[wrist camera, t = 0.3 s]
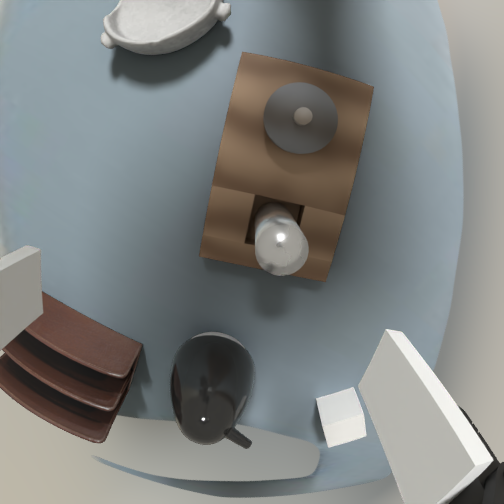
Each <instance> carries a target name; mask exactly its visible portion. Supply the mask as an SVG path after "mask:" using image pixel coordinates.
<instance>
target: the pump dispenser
mask: <svg viewBox="0 0 504 504" xmlns="http://www.w3.org/2000/svg"><path fill="white" fill-rule="evenodd" d="M254 377H255V367H254V362H253V360H252V357H251V356H250V354H249V353H248V352H247V350H246V349H245V347H244V346H243V345H242V344H241V343H240V342H239V341H238V340H236V339H235V338H233V337H231V336H229V335H227V334H224V333H220V332H206V333H202V334H199V335H196V336H194V337H192V338H191V339H190V340H188V341H186V342H185V343H183V344H182V345H181V346H180V347H179V348H178V350H177V352H176V354H175V356H174V359H173V362H172V367H171V374H170V398H171V405H172V410H173V414H174V417H175V420H176V423H177V425H178V427H179V428H180V430H181V432H182V433H183V434H184V435H185V436H186V437H187V438H188V439H189V440H191V441H193V442H195V443H198V444H203V445H210V444H214V443H217V442H218V441H220V440H222V439H223V438H227V439H229V440H231V441H232V442H234V443H236V444H238V445H240V446H242V447H243V448H245V449H247V448H249V447H250V446H251V444H252V441H251V440H249V439H248V438H247V437H245V436H244V435H243V434H241V433H240V432H239V431H238V430H236V429H235V426H236V425H237V423H238V422H239V420H240V419H241V417H242V416H243V414H244V412H245V410H246V407H247V405H248V402H249V400H250V396H251V393H252V389H253V384H254Z"/></svg>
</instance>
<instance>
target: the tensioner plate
mask: <svg viewBox="0 0 504 504" xmlns="http://www.w3.org/2000/svg"><path fill="white" fill-rule="evenodd" d="M373 89H374V87H373V86H370V85H368V84H365V83H362V82H359V81H356V80H353V79H350V78H347V77H344V76H341V75H338V74H334V73H331V72H328V71H324V70H321V69H317V68H314V67H310V66H306V65H302V64H299V63H294V62H290V61H286V60H282V59H277V58H272V57H268V56H263V55H258V54H252V53H246V52H242V55H241V59H240V63H239V67H238V71H237V75H236V79H235V83H234V87H233V91H232V95H231V99H230V104H229V108H228V112H227V117H226V121H225V126H224V130H223V135H222V139H221V144H220V148H219V153H218V158H217V163H216V168H215V173H214V178H213V183H212V188H211V193H210V198H209V203H208V208H207V214H206V219H205V225H204V230H203V236H202V242H201V247H200V253H199V256H200V257H204V258H209V259H214V260H219V261H224V262H228V263H233V264H238V265H243V266H248V267H253V268H258V269H262V270H264V269H263V268H262V267H261V266H260V265H259V263H258V261H257V259H256V254H255V215H256V212H257V210H258V209H259V208H260V207H261V206H262V205H263V204H265V203H268V202H278V203H281V204H283V205H284V206H285V207H286V208H287V209H288V210H289V212H290V213H291V215H292V217H293V218H294V220H295V221H296V223H297V224H298V226H299V228H300V229H301V231H302V233H303V234H304V236H305V237H306V239H307V242H308V247H309V252H308V257H307V260H306V262H305V263H304V265H303V266H302V267H301V268H300V269H299V270H298V271H296V272H294V273H292V274H290V275H292V276H297V277H302V278H307V279H312V280H318V281H323V282H326V279H327V276H328V272H329V269H330V266H331V263H332V259H333V256H334V253H335V249H336V246H337V242H338V239H339V235H340V232H341V228H342V225H343V221H344V217H345V214H346V210H347V206H348V202H349V198H350V194H351V191H352V187H353V183H354V179H355V174H356V170H357V166H358V162H359V157H360V153H361V149H362V144H363V140H364V135H365V130H366V126H367V121H368V116H369V111H370V106H371V100H372V95H373Z"/></svg>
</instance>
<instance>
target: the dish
mask: <svg viewBox="0 0 504 504" xmlns="http://www.w3.org/2000/svg"><path fill="white" fill-rule="evenodd" d="M230 15H231V5H230V4H229V3H223V0H120V1H119V3H118V5H117V7H116V8H115V9H114V10H113V11H112V12H111V13H110V14H109V15H107V16H105V17H104V19H103V24H104V28H105V32H104V33H103V34H102V35H101V43H102V44H103V45H104V46H105V47H107V48H109V49H113V48H115V47H116V46H117V45H119V46H121V47H123V48H125V49H127V50H130V51H132V52H135V53H139V54H145V55H159V54H166V53H170V52H174V51H177V50H179V49H182V48H184V47H186V46H188V45H190V44H192V43H193V42H195V41H196V40H198V39H199V38H201V37H202V36H203V35H205V34H206V33H207V32H208V31H209V30H210V29H211V28H212V27H213V26H214V25H215V23H216V22H217V20H219V21H222V22H223V21H225V20H226V19H227V18H228V17H229V16H230Z"/></svg>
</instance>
